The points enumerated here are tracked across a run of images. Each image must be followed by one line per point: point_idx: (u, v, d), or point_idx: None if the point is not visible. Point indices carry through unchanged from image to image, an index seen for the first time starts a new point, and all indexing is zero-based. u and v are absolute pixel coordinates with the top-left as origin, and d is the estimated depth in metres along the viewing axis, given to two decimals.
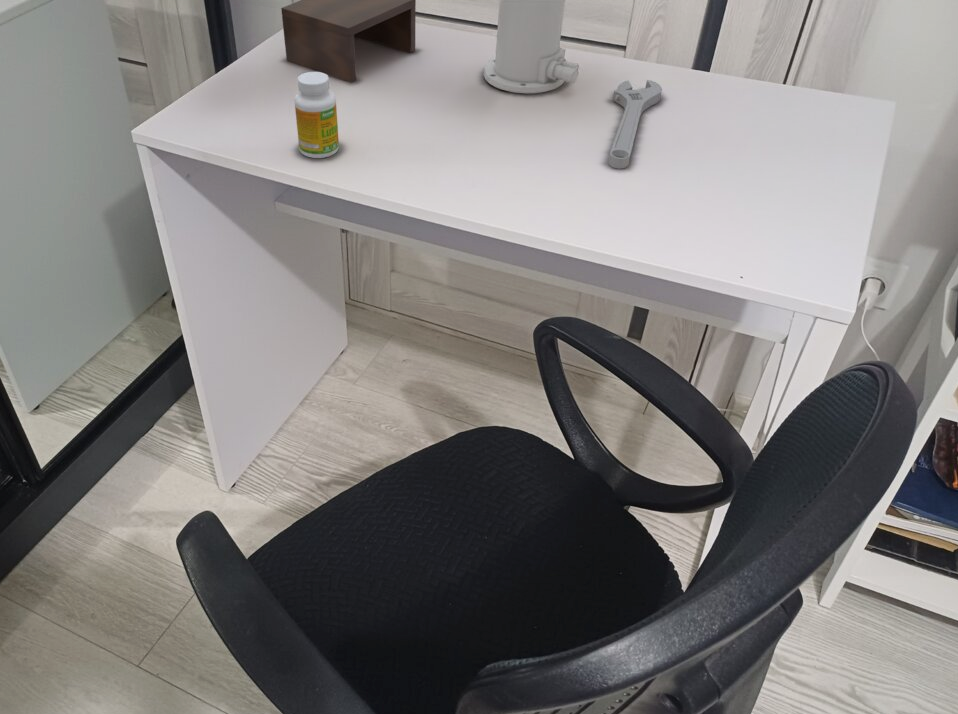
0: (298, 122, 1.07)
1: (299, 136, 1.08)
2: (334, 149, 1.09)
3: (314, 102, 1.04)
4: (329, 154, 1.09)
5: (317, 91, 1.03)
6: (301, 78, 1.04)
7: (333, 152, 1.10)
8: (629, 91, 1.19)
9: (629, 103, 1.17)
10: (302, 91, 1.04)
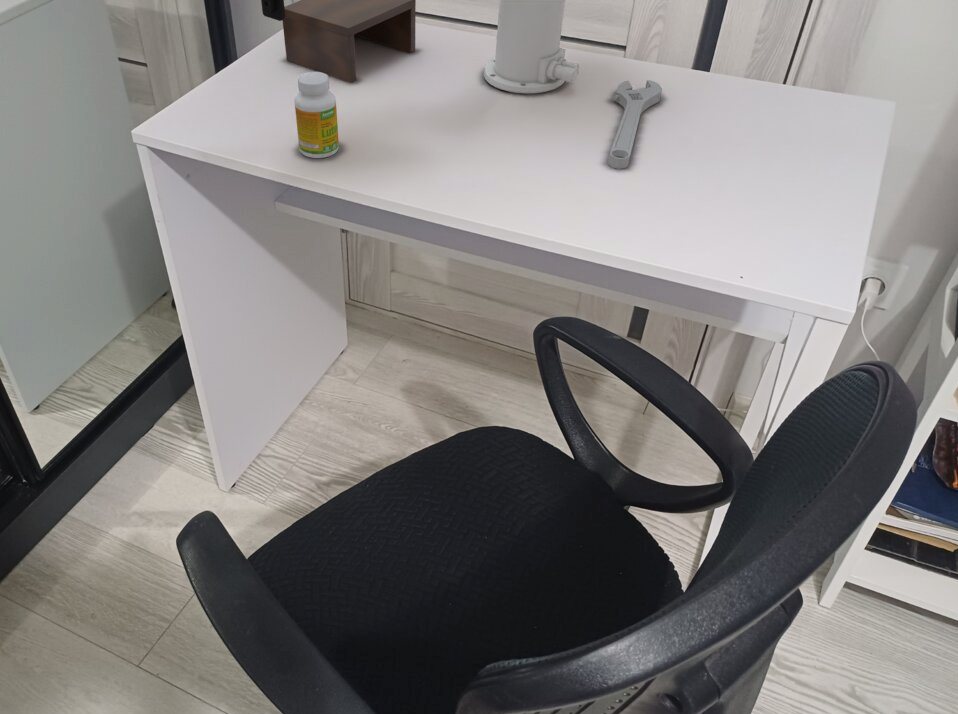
0: (298, 122, 1.07)
1: (299, 136, 1.08)
2: (334, 149, 1.09)
3: (314, 102, 1.04)
4: (329, 154, 1.09)
5: (317, 91, 1.03)
6: (301, 78, 1.04)
7: (333, 152, 1.10)
8: (629, 91, 1.19)
9: (629, 103, 1.17)
10: (302, 91, 1.04)
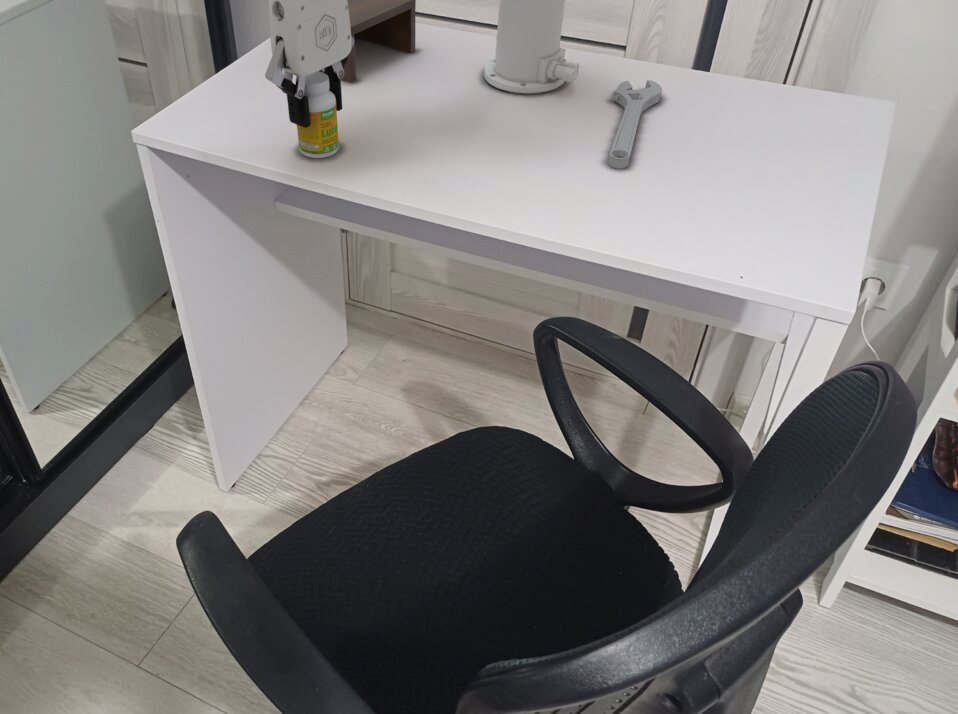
0: None
1: (299, 136, 1.08)
2: (334, 149, 1.09)
3: (314, 102, 1.04)
4: (329, 154, 1.09)
5: (317, 91, 1.03)
6: None
7: (333, 152, 1.10)
8: (629, 91, 1.19)
9: (629, 103, 1.17)
10: None
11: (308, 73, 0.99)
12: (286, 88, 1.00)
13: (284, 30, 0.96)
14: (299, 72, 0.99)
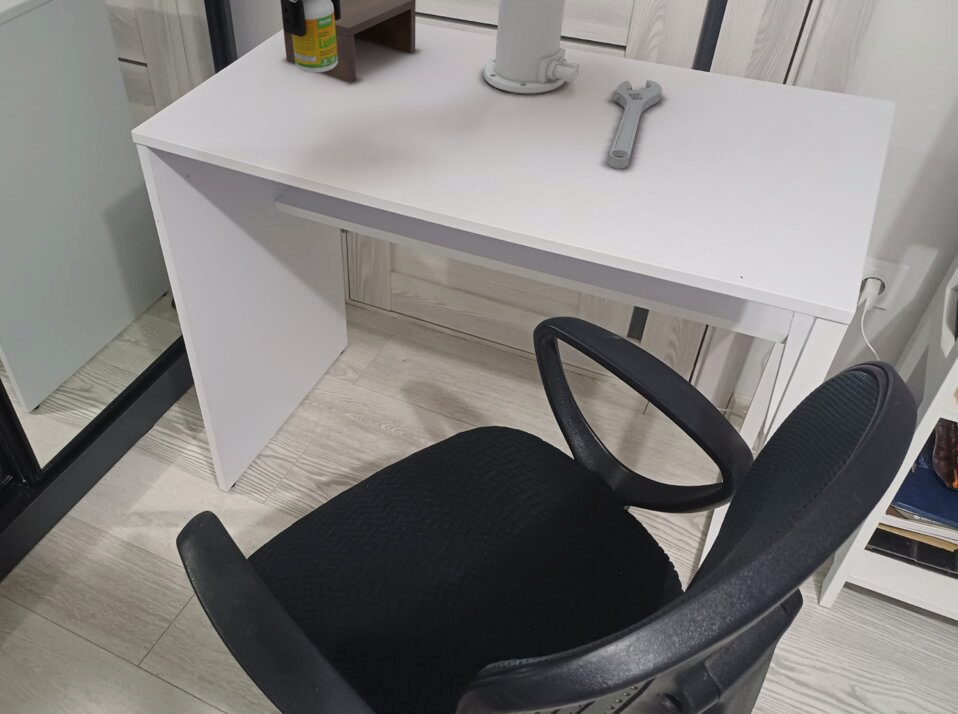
0: None
1: (295, 48, 1.01)
2: (332, 63, 1.02)
3: (310, 8, 0.96)
4: (327, 68, 1.02)
5: None
6: None
7: (332, 66, 1.02)
8: (629, 91, 1.19)
9: (629, 103, 1.17)
10: None
11: None
12: None
13: None
14: None
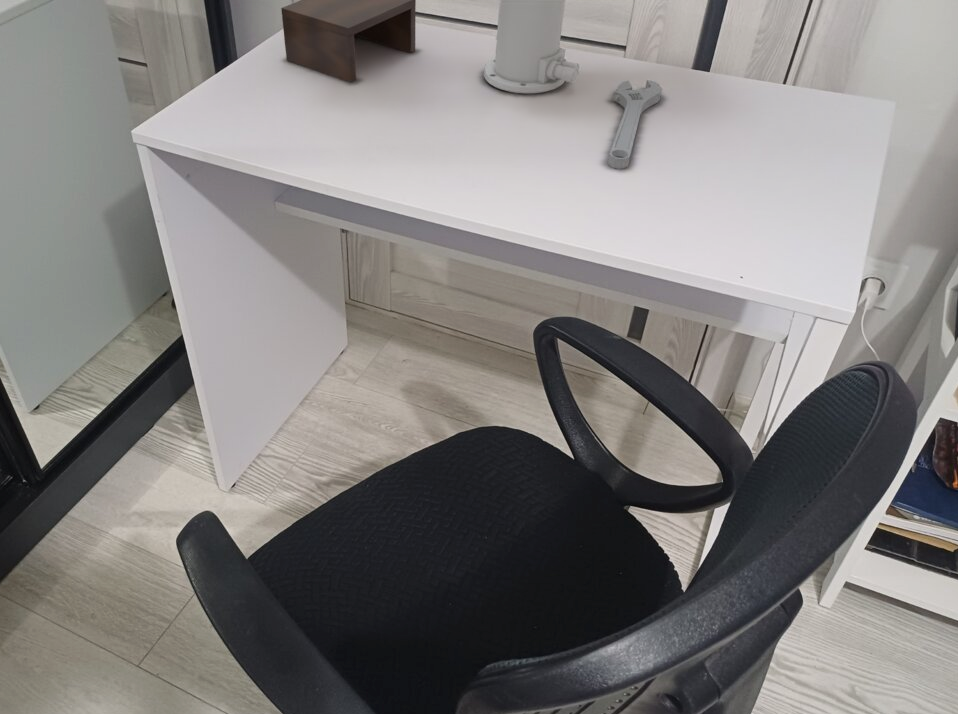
0: None
1: None
2: None
3: None
4: None
5: None
6: None
7: None
8: (629, 91, 1.19)
9: (629, 103, 1.17)
10: None
11: None
12: None
13: None
14: None
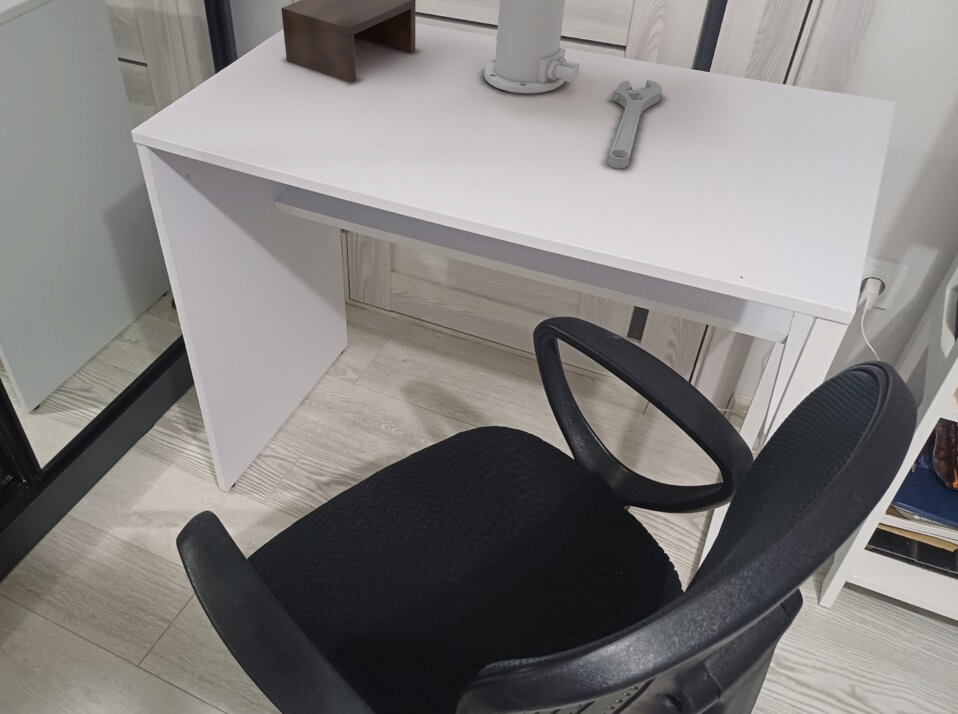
0: None
1: None
2: None
3: None
4: None
5: None
6: None
7: None
8: (629, 91, 1.19)
9: (629, 103, 1.17)
10: None
11: None
12: None
13: None
14: None
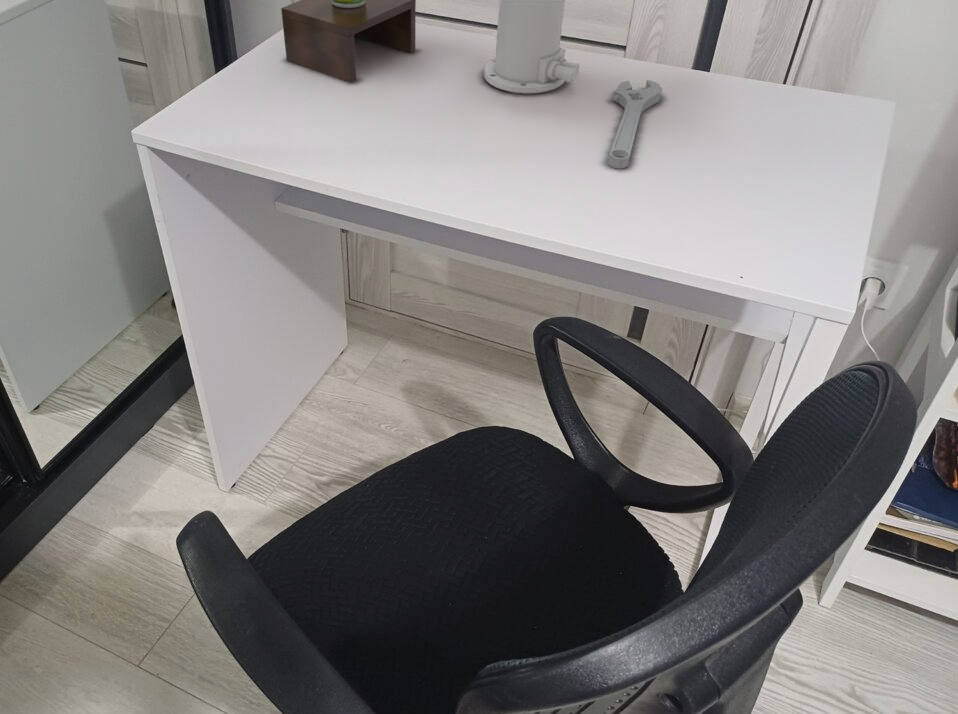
0: None
1: None
2: (362, 1, 1.26)
3: None
4: (358, 5, 1.26)
5: None
6: None
7: (361, 3, 1.26)
8: (629, 91, 1.19)
9: (629, 103, 1.17)
10: None
11: None
12: None
13: None
14: None
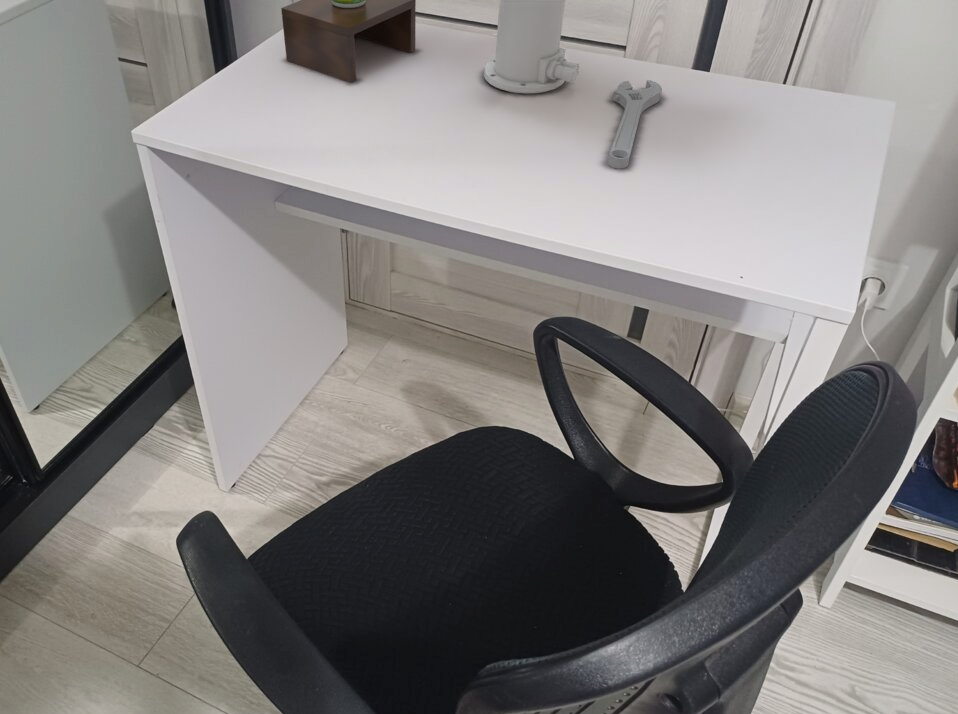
0: None
1: None
2: (362, 1, 1.26)
3: None
4: (358, 5, 1.26)
5: None
6: None
7: (361, 3, 1.26)
8: (629, 91, 1.19)
9: (629, 103, 1.17)
10: None
11: None
12: None
13: None
14: None
